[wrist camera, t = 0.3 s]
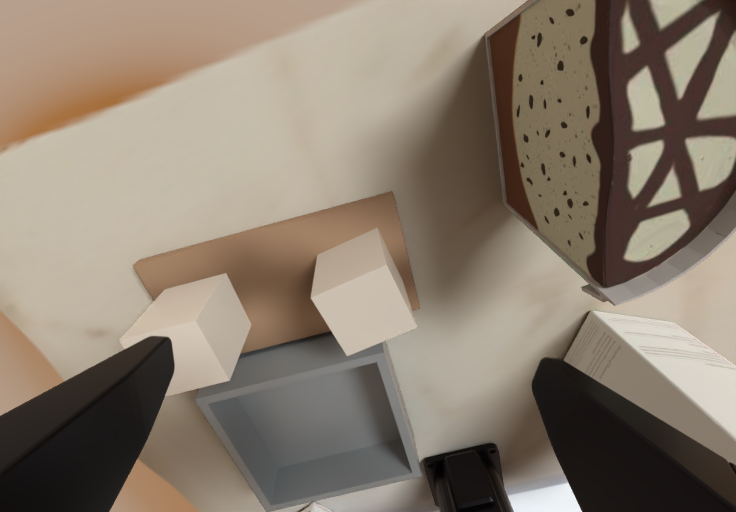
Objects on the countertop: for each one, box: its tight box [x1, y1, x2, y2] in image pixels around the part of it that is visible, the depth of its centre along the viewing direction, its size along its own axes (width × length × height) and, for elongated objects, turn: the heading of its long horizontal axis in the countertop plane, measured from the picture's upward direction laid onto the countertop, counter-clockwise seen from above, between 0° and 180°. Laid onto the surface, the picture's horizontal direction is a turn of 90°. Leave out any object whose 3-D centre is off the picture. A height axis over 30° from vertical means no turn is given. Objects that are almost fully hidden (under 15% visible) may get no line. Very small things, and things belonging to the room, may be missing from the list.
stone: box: [119, 273, 251, 397], centre depth 21 cm, size 4×4×5 cm
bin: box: [194, 331, 422, 512], centre depth 26 cm, size 12×12×4 cm
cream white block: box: [311, 228, 417, 356], centre depth 20 cm, size 4×4×5 cm
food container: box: [485, 0, 736, 306], centre depth 15 cm, size 12×6×10 cm, turn 15°
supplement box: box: [564, 311, 736, 465], centre depth 22 cm, size 7×7×13 cm
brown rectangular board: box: [133, 191, 420, 354], centre depth 23 cm, size 8×16×1 cm, turn 105°
